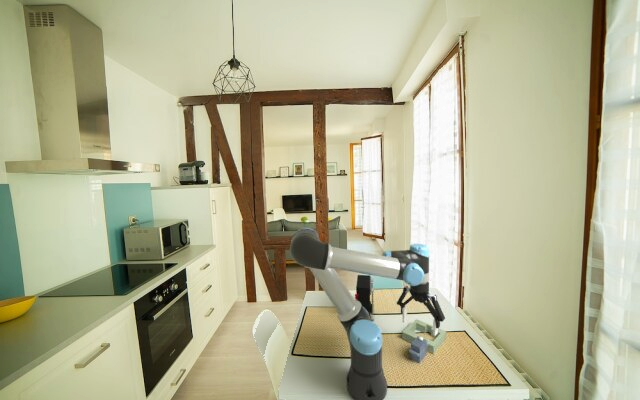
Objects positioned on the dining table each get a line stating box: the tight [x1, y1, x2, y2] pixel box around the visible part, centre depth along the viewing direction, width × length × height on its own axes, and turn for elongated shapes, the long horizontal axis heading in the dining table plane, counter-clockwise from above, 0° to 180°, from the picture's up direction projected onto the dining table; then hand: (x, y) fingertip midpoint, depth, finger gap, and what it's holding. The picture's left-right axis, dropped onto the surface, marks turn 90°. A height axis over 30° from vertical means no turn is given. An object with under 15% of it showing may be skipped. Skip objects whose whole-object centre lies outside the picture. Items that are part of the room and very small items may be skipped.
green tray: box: [401, 318, 447, 355], centre depth 119 cm, size 15×15×4 cm
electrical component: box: [354, 274, 375, 322], centre depth 141 cm, size 18×10×20 cm, turn 168°
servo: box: [408, 336, 428, 364], centre depth 107 cm, size 10×4×8 cm, turn 133°
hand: (419, 327), depth 106 cm, fingers open, 13 cm apart
